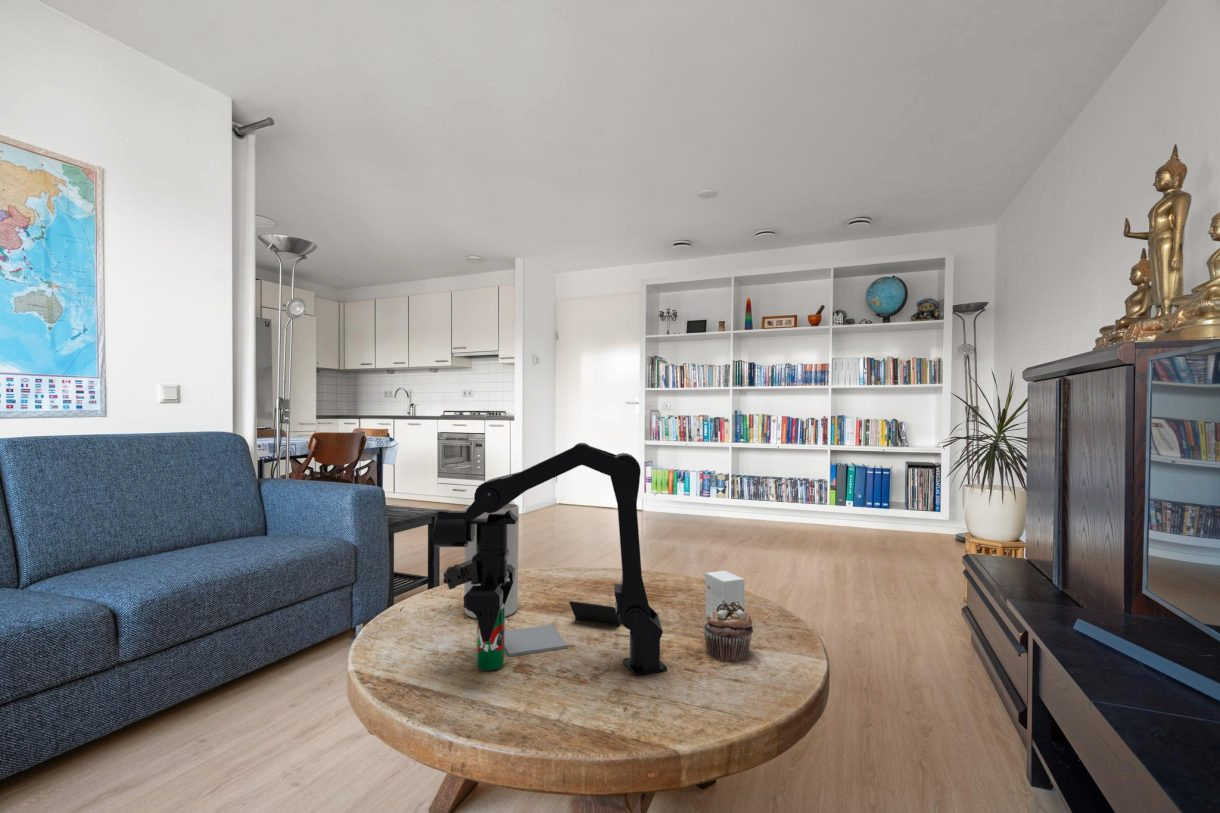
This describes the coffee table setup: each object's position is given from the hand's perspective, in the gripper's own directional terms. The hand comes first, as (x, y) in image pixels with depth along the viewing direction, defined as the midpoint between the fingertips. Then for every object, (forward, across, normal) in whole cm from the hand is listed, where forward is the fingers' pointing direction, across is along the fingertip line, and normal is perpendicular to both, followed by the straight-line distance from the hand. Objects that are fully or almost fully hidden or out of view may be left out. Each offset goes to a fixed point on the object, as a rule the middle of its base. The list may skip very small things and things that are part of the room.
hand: (490, 631), depth 106 cm
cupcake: (+7, -6, +46) cm, 47 cm away
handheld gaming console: (+7, -23, +20) cm, 32 cm away
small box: (+7, -23, +49) cm, 55 cm away
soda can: (+7, 0, 0) cm, 7 cm away
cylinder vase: (+7, -30, -6) cm, 31 cm away
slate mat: (+6, -12, +6) cm, 15 cm away
